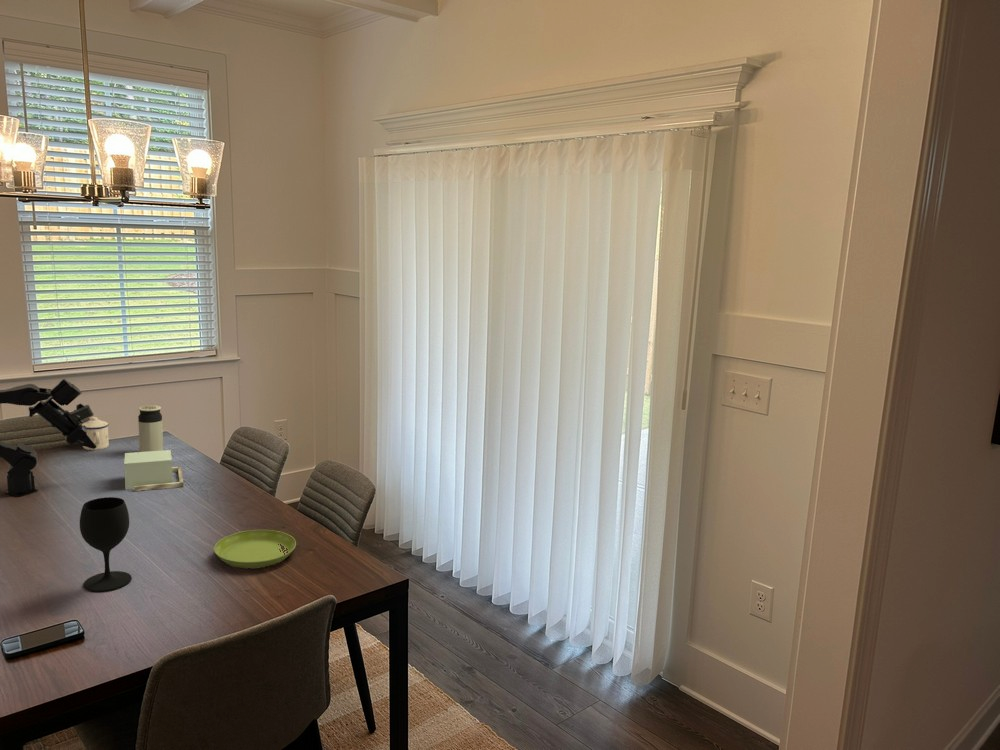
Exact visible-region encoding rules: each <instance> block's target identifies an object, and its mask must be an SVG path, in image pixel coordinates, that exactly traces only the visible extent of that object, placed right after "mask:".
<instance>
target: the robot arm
mask: <svg viewBox="0 0 1000 750" xmlns="http://www.w3.org/2000/svg"><path fill="white" fill-rule="evenodd" d="M81 394H82V391H81V390H80V389H79V388H78V387H77V386H76V385H75V384H74V383H72V382H70V381H68V380H67V379H66V378H63V379H61V380H60V381H59V383H58V384H56V385H55V386H54V387H53V388H45V387H38V385H36V384H33V383H27V384H23V385H18V386H14V387H11V388H6V389H0V404H7V405H16V406H24V407H25V406H28V412H29V413H28V414H29V415H28V416H29V418H31V417H33V416H34V415H35V414H37V415H38V416H39V417H41V418H42V419H43V420H45V422H47V423H49V424H50V426H51V427H52V428H55V429H56V430H58V431H59V432H60V433H61V435H62V436H63V437H65V441H66V443H68V444H69V445H70V446H72V445H74V444H75V445H78V446H82V447H83V446H86V447H89V448H92V449H95V448H96V447H97V446H96V445H95V444H94V442H93V441H92V440H91V439H90V437H89V436H88V435H87V429H86V427H85V425H84V426H82V424H83V423H84V421H83V420H85V419H87V418H92V417H94V412H93V410H92V408H91V407H90V404H85V405H84V404H83V403H79V404H76V409H74V410H73V411H69V410H68V409H67V410H65V408H64V409H63V407H64V406H68V405H70V404H71V403H72V402H74V400H76V399H77V398H78V397H79V396H80V395H81ZM61 406H63V407H61ZM0 458H1V459H2V460H4V461H5V462H7V463H8V464H9V465H8V469H7V475H6V481H7V483H6V484H7V490H6V491H4V494H5V495H10V496H12V497H13V496H14V497H18V498H19V497H23V496H25V495H28V494H32V493H35V492H38V488H36V484H35V475H34V473H33V472H34V471H32V470H33V469H35V467H36V466H37V463H38V458H39V456H38V453H37V451H36V450H35V449H33V446H30V445H26V444H24V443H23V442H21V441H18V443H17V445H16V444H15V445H14V444H9V443H6V442H4V441H2V440H0Z"/></svg>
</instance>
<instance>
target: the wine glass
mask: <svg viewBox="0 0 1000 750" xmlns="http://www.w3.org/2000/svg"><path fill="white" fill-rule="evenodd" d="M129 528H130V515H129V510H128V507H127V504H126V502H125V500H124V499H123V498H120V497H116V496H115V497H114V496H113V497H112V496H109V497H105V496H104V497H99V498H94V499H91V500H88V501H86V502H84V503H83V505H82V508H81V510H80V516H79V531H80V534H81V537H82V539H83V540H84V541H85V542H86V544H87V545H89V546H90V547H91V548H94V549H95V550H97V551H100V552H102V554H103V560H104V561H103V562H104V572H100V573H97V574H94V575H92V576H90V577H87V579H85V581H84V583H82V584H83V588H84V589H85V590H86V591H88V592H91V593H107V592H112V591H115V590H119V589H122V588H124V587H126V586H128V585H129V584H131V582H132V578H133V577H132V575H131V574H130V573H128V572H125V571H121V570H120V571H119V570H112V571H111V570H110V553H111V551H112V550H113V549H115V548H116V546H117V547H118V545H119V544H120V543H121V542H122V541H123V540H124V539H125V537H126V536H127V533H128V532H129Z"/></svg>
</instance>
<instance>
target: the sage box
mask: <svg viewBox="0 0 1000 750" xmlns="http://www.w3.org/2000/svg"><path fill="white" fill-rule="evenodd" d="M123 465H124V466H123V468H124V486H125V488H124V489H129V490H134V489H133V488H134V486H141V485H152V484H163V483H174V482H173V472H172V467H173V458H172V452H171V449H166V450H165V449H163V450H162V451H148V452H140V451H138V452H136V451H135V452H125V453H124V462H123Z"/></svg>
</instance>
